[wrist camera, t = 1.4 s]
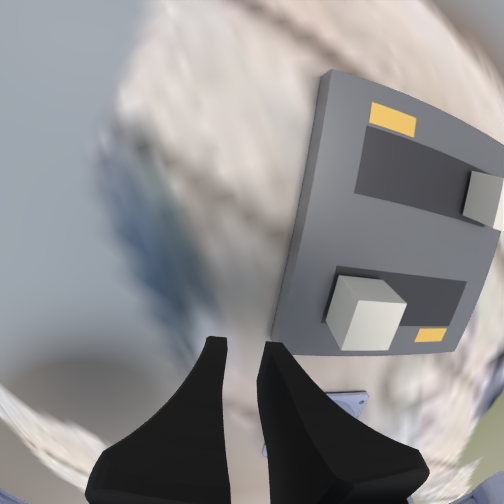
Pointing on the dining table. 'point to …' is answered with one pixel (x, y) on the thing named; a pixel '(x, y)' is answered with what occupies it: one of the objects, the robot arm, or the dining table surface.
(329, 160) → the switch box
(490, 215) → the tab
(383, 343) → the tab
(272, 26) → the dining table surface
